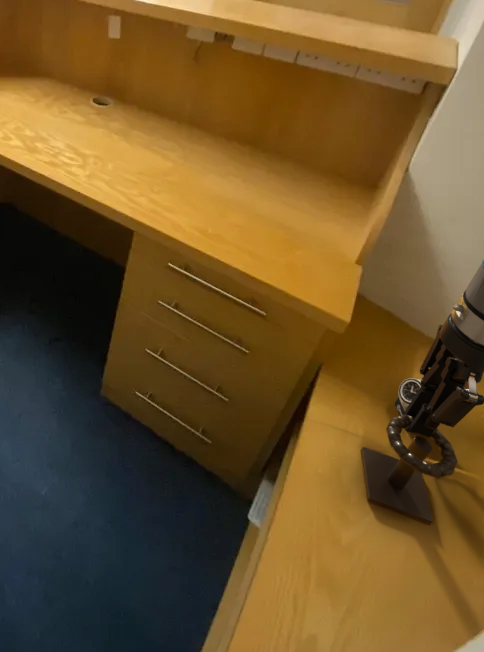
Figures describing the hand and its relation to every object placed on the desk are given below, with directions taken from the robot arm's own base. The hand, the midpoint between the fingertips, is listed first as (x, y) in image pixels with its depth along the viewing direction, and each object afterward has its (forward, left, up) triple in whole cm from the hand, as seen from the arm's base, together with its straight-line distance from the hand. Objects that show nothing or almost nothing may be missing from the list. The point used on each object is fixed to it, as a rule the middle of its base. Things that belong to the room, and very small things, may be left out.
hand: (417, 423), depth 84 cm
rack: (0, +4, -13) cm, 13 cm away
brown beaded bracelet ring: (0, +3, 0) cm, 4 cm away
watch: (-5, -10, -13) cm, 17 cm away
